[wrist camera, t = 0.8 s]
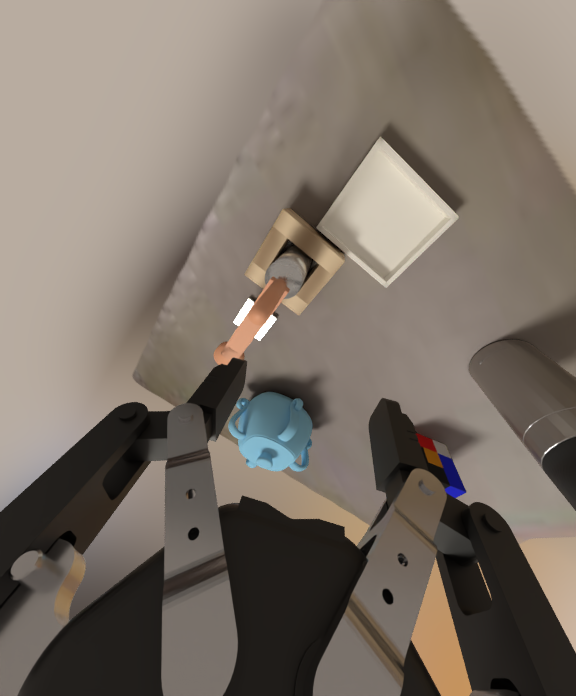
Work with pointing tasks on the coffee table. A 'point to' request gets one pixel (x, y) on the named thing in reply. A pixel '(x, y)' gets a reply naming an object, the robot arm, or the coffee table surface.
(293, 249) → the silver metal cylinder
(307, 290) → the block
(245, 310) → the pivot post
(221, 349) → the bar
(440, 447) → the puzzle toy
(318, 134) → the coffee table surface
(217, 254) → the coffee table surface
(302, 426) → the decorative pot
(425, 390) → the coffee table surface
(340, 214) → the tray
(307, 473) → the coffee table surface
